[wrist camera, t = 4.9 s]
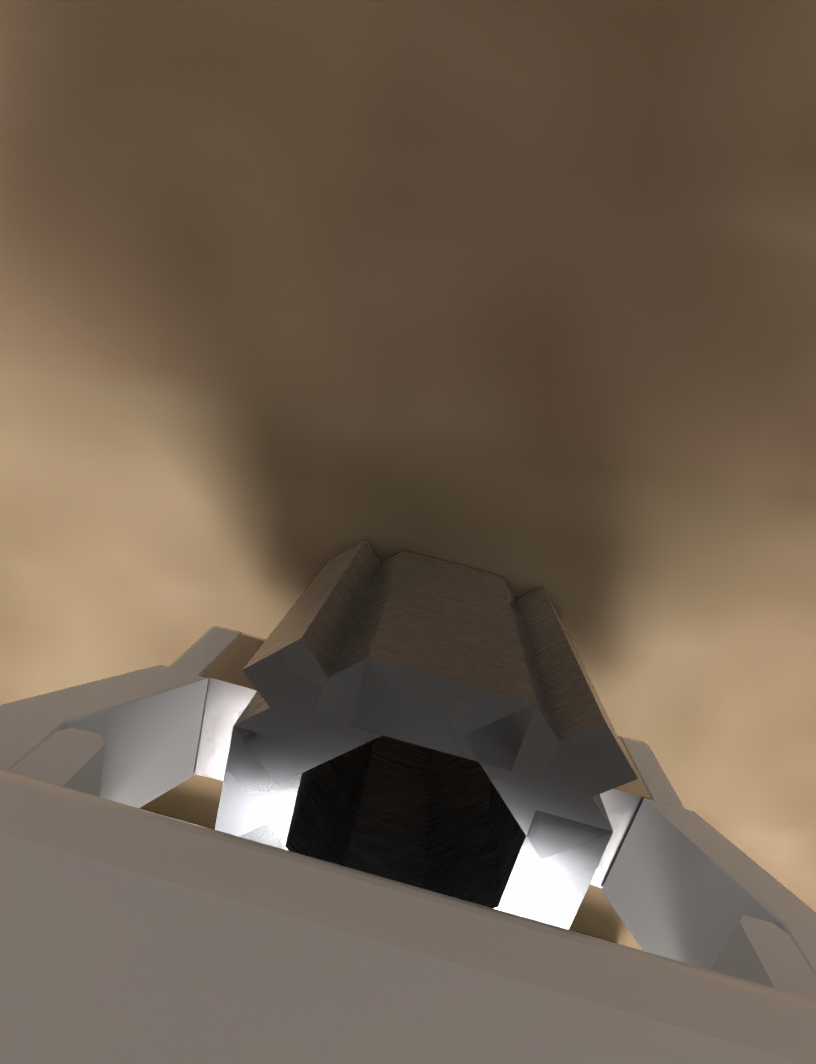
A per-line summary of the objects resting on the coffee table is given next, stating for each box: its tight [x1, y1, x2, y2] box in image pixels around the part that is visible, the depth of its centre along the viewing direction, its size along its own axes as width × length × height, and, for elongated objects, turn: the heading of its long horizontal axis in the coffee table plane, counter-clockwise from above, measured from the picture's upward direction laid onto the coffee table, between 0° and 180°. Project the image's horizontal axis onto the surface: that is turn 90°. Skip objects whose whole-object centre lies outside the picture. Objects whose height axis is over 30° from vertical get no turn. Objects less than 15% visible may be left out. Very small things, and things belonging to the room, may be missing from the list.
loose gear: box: [215, 539, 638, 930], centre depth 9 cm, size 5×5×4 cm
